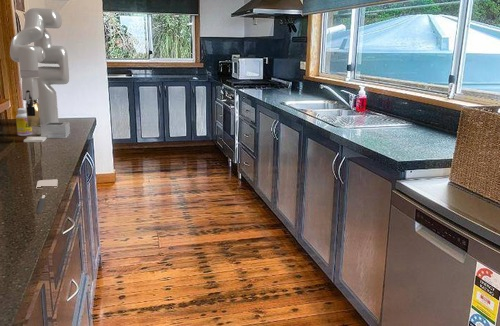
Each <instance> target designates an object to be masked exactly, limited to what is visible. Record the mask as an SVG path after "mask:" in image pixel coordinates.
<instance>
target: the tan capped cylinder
mask: <svg viewBox="0 0 500 326" xmlns="http://www.w3.org/2000/svg"><path fill="white" fill-rule="evenodd" d="M31 103H32V102H31ZM34 107H35V116H27V124H28V126H32V127H41V126H40V125H41V124H40V112H39V103H35V102H34ZM25 108H26V113H27V106H26V105H25Z"/></svg>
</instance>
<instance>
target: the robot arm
mask: <svg viewBox="0 0 500 326" xmlns="http://www.w3.org/2000/svg"><path fill="white" fill-rule="evenodd" d="M23 17H24V26H23V29H21V30H20V31H18V33H16V34H15V35H14V36H13V37H12V39H11V40H10V41H11V43H10V47H9V56H10V59H11V60H12V61H13V62H15V63H18V64H19V76H20V79H21V95H22V101H25V102H26V103H25V107H26V106H27V116H35V107H34V102H35V103H39V112H40V124H41V125H42V124H44V123H45V122H60V121H59V113H58V112H59V111H58V99H57V92H56V90H55V89H54V88H53V86H52V85H67V84H69V82H70V68H69V58H68V52H67V49H66V47H65V46H62V45H53V44H52V35H51V34H50V32H49V31H48V30H47V29H60V28H61V27H62V25H63V24H62V23H63V19H62V15H61V13H60V12H59V11H58V10H55V9H52V8H35V7H34V8H30V9H28V10H27V11H25V12H24V16H23ZM32 43H33V44H34V45H27V44H32ZM39 64H45V66H41V65H40V66H39ZM48 64H49V65H58V66H49V65H48ZM46 65H47V66H46ZM31 102H32V103H31ZM41 125H40V126H39V127H41Z"/></svg>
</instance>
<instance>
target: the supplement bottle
mask: <svg viewBox="0 0 500 326" xmlns="http://www.w3.org/2000/svg"><path fill="white" fill-rule="evenodd" d="M15 119H16V120H15V121H16V123H15V124H16V131H17V136H20V137H26V136H27V137H30V136H32V135H33V126H28V124H27V113H26V107H23V108H22V107H21V108H17V114H16V115H15Z"/></svg>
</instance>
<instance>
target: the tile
mask: <svg viewBox="0 0 500 326" xmlns="http://www.w3.org/2000/svg"><path fill="white" fill-rule="evenodd" d="M47 139H48V138H47V137H41V136H27V137H26V138H25V139H23V143H43V142H45V141H46V140H47Z"/></svg>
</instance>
